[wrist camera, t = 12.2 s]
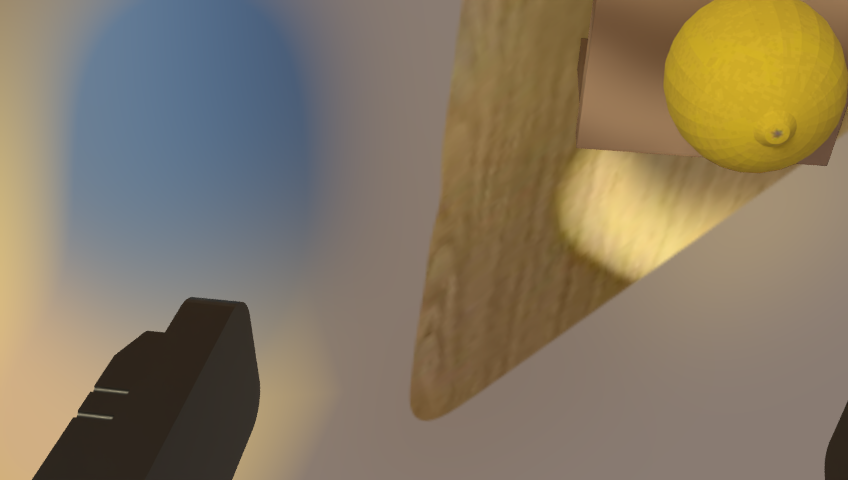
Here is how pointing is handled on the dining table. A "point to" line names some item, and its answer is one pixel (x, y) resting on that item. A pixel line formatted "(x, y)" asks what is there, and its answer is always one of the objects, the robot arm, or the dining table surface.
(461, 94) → the dining table surface
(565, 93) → the dining table surface
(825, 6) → the stool
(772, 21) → the lemon
